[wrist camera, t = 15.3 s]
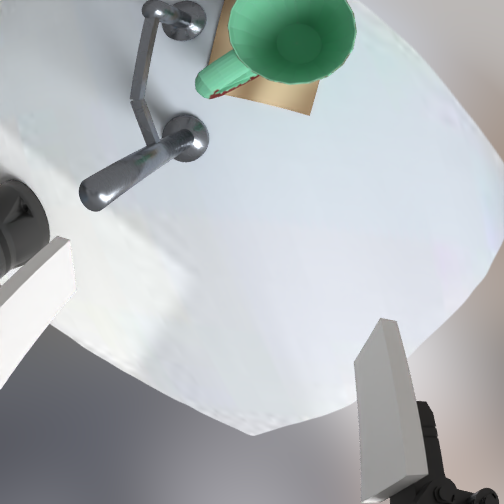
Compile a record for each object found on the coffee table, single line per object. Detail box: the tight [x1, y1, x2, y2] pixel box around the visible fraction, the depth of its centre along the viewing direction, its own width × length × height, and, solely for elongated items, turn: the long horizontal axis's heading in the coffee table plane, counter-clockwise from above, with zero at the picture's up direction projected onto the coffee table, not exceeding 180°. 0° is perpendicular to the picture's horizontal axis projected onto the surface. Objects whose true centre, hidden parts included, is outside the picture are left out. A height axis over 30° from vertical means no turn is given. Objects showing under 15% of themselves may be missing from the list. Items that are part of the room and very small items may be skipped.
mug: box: [195, 0, 357, 99], centre depth 25 cm, size 15×10×10 cm
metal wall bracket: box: [79, 0, 209, 212], centre depth 24 cm, size 8×19×19 cm, turn 167°
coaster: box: [208, 0, 320, 116], centre depth 29 cm, size 12×12×1 cm
